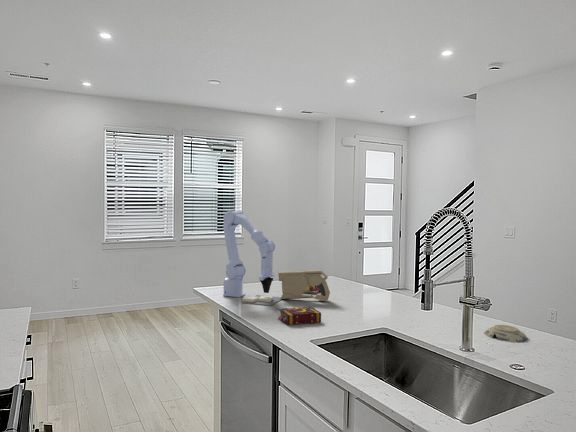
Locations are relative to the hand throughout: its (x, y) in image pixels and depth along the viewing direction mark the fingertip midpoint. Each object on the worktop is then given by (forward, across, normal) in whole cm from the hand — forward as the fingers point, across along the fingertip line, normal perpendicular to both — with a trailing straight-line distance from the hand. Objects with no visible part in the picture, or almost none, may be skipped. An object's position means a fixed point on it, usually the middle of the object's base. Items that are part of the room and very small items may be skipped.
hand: (266, 292), depth 222 cm
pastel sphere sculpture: (+4, +35, -9) cm, 37 cm away
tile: (+3, +1, 0) cm, 3 cm away
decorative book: (+4, -29, -26) cm, 39 cm away
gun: (+4, +8, -17) cm, 19 cm away
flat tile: (+3, -6, +6) cm, 9 cm away
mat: (+4, -1, +1) cm, 4 cm away
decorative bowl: (+4, -18, -106) cm, 108 cm away
